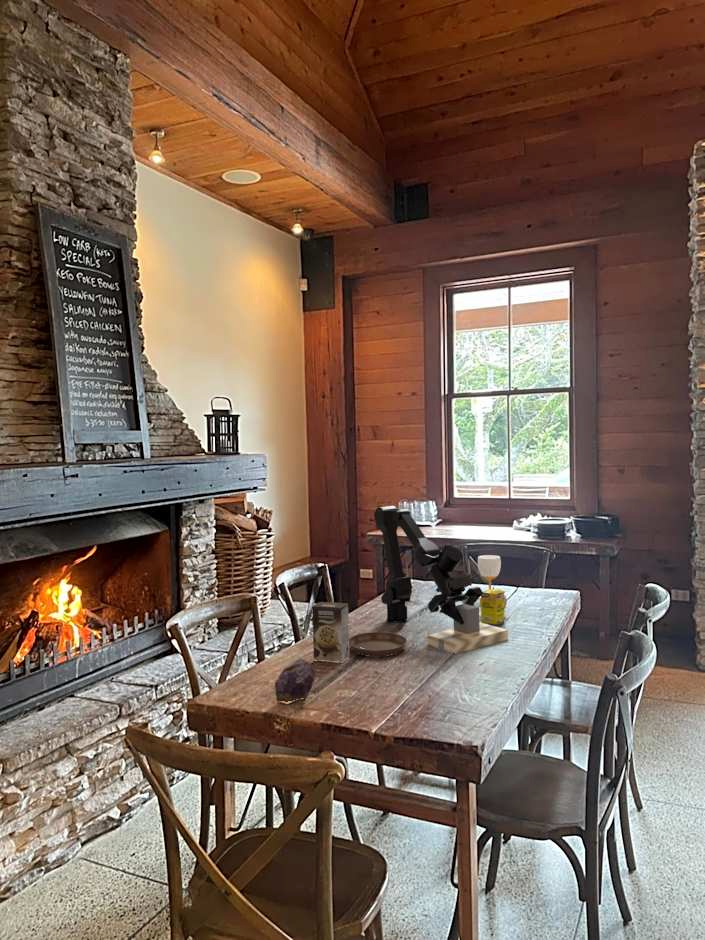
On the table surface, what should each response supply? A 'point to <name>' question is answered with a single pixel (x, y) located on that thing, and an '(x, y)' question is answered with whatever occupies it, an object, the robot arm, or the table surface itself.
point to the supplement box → (492, 607)
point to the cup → (489, 567)
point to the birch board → (467, 639)
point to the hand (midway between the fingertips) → (469, 622)
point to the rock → (295, 681)
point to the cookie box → (330, 631)
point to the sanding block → (468, 620)
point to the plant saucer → (377, 643)
